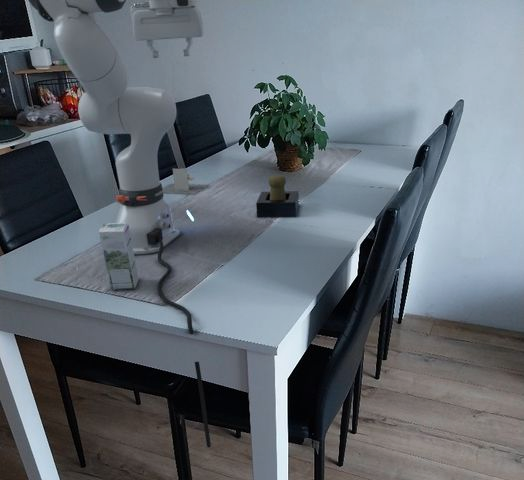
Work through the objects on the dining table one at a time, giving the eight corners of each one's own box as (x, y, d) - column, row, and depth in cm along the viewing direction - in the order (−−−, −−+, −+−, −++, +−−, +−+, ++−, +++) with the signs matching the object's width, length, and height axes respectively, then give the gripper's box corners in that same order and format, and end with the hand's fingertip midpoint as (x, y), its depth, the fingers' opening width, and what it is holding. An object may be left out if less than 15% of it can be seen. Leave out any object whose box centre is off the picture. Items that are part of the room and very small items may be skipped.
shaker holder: (295, 216, 165) (295, 202, 163) (257, 217, 167) (256, 202, 164) (298, 204, 175) (298, 190, 173) (262, 205, 177) (261, 191, 174)
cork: (288, 207, 173) (287, 172, 167) (287, 213, 168) (286, 177, 162) (269, 208, 174) (268, 173, 168) (268, 214, 169) (266, 178, 163)
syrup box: (139, 279, 132) (128, 221, 124) (135, 289, 127) (123, 229, 119) (115, 280, 132) (103, 222, 124) (110, 291, 127) (97, 231, 119)
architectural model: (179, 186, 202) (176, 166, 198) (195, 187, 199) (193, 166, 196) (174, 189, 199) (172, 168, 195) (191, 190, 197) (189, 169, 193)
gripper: (125, 3, 150) (134, 59, 158) (197, -2, 148) (202, 55, 155) (132, 3, 156) (140, 58, 163) (202, -1, 153) (207, 54, 160)
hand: (171, 57), depth 159 cm, fingers open, 8 cm apart
